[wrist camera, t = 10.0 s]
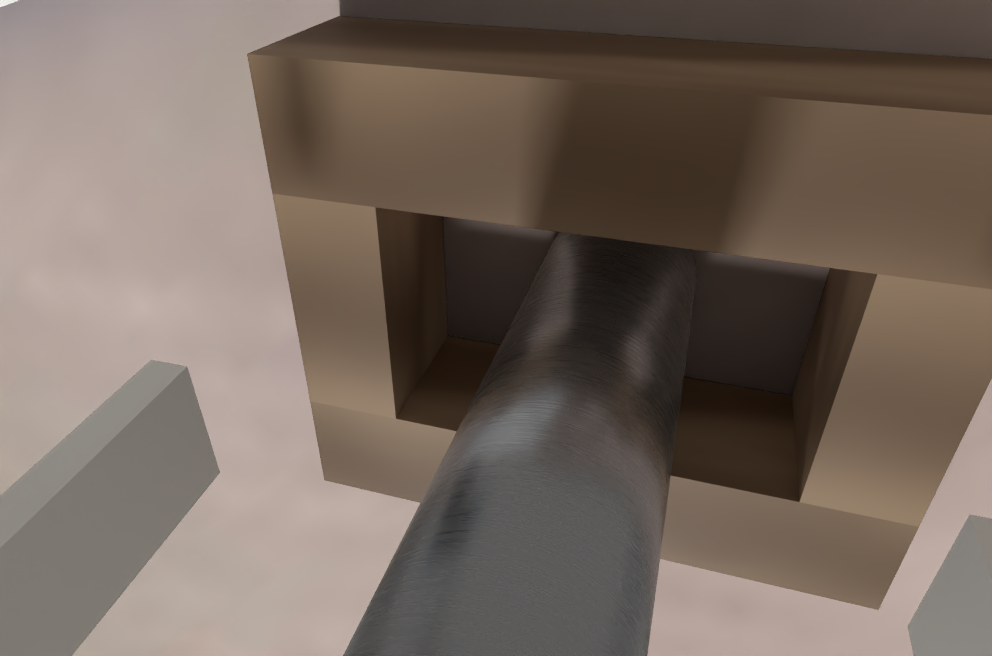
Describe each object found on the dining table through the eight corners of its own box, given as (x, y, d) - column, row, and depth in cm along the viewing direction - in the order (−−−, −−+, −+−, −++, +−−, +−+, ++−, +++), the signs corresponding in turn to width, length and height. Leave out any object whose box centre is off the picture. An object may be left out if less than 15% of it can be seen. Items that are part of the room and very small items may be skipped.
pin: (549, 198, 19) (244, 722, 7) (708, 217, 18) (631, 852, 7) (543, 326, 21) (301, 879, 10) (684, 349, 20) (596, 990, 9)
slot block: (338, 16, 18) (247, 53, 14) (1033, 62, 14) (1115, 124, 11) (380, 396, 24) (324, 480, 21) (859, 492, 21) (877, 609, 18)
